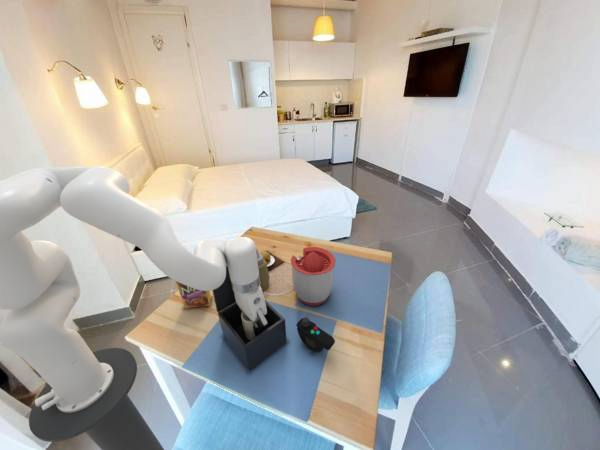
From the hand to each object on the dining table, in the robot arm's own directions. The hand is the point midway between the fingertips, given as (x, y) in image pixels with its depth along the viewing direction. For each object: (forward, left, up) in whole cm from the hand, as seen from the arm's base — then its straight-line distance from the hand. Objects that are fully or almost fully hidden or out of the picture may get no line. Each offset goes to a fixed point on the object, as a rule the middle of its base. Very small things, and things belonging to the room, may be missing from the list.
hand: (253, 325), depth 76 cm
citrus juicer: (+27, +3, -7) cm, 28 cm away
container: (0, 0, -3) cm, 3 cm away
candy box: (-7, +28, -7) cm, 29 cm away
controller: (+12, -14, -7) cm, 20 cm away
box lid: (0, +7, +12) cm, 14 cm away
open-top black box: (0, +1, -7) cm, 7 cm away
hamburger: (+25, +31, -7) cm, 40 cm away
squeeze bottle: (+15, +20, -7) cm, 26 cm away
